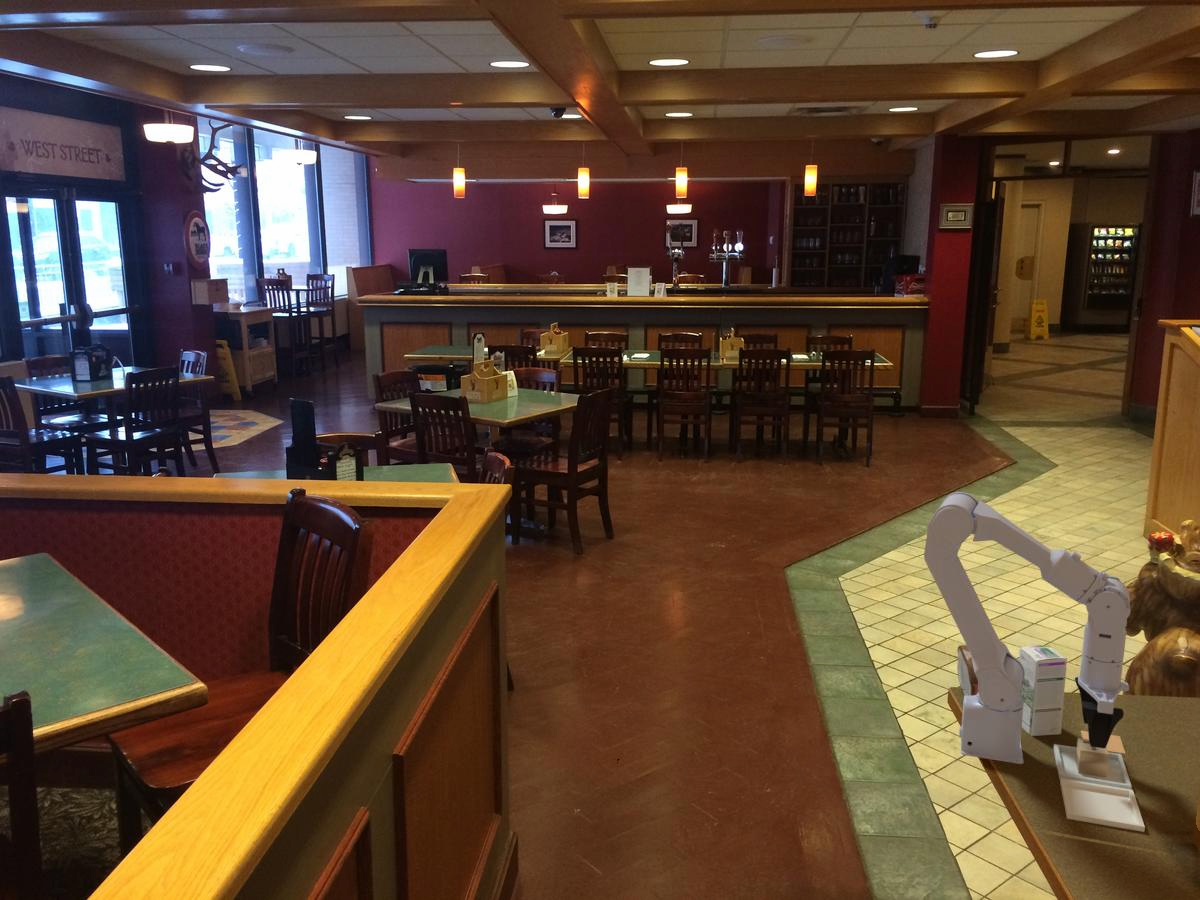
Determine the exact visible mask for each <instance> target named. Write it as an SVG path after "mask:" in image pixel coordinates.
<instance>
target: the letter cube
mask: <svg viewBox="0 0 1200 900" xmlns="http://www.w3.org/2000/svg"><path fill="white" fill-rule="evenodd" d="M1076 747H1077V750H1076V760H1075V761H1076V765H1077V769H1078V773H1082V774H1088V775H1094V776H1100V777H1107V768H1108V759H1109V753H1108V752H1109V751H1108V750H1107V746H1106V747H1105V748H1098V747H1092V746H1091V745H1090V742H1089V740H1087V739H1083V738H1080V737H1077V742H1076Z"/></svg>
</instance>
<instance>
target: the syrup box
mask: <svg viewBox="0 0 1200 900" xmlns="http://www.w3.org/2000/svg"><path fill="white" fill-rule="evenodd" d="M1018 654H1019V656H1018V660H1019V661H1020V662H1021V664H1022V665H1023V667H1024V671H1025V676H1024V680H1023V681H1022V684H1021V689H1020V696H1021V697H1022V699H1023V701H1024V706H1023V717H1022V728H1021V729H1023V730H1024V732H1026V733H1027V734H1028V735H1030V737H1036V736H1050V735H1051V736H1052V735H1053V736H1054V735H1061V734H1062V725H1063V714H1064V712H1063V711H1064V700H1065V689H1066V688H1065V687H1066V679H1067V676H1066V674H1067V663H1068V658H1067V657H1066V656H1064V655H1063V654H1061V653H1060V652H1058V651H1057V650H1056V649H1055V648H1053V647H1052V646H1050V645H1042V644H1040V645H1036V644H1035V645H1026V646H1020V647H1019V653H1018Z"/></svg>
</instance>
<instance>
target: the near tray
mask: <svg viewBox="0 0 1200 900" xmlns="http://www.w3.org/2000/svg"><path fill="white" fill-rule="evenodd" d="M1059 784H1060V785H1059V786H1060V788H1061V789H1060V790H1061V794H1062V800H1063V805H1064V809H1065V815H1066V816H1065V817H1066V819H1067V820H1072V821H1073V820H1074V821H1079V822H1083V823H1089V824H1090V823H1091V824H1096V825H1102V826H1107V827H1112V828H1113V827H1114V828H1118V829H1124V830H1128V831H1129V830H1131V831H1135V832H1142V833H1145V829H1146V826H1145V824H1144V820H1143V817H1142V814H1141V811H1140V807H1139V805H1138V802H1137V799H1136V795H1135V793H1134V789H1132V788H1131V789H1125V788H1118V787H1112V786H1106V785H1100V784H1094V783H1088V782H1082V781H1075V780H1069V779H1063V778H1061V779H1060V782H1059Z"/></svg>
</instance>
